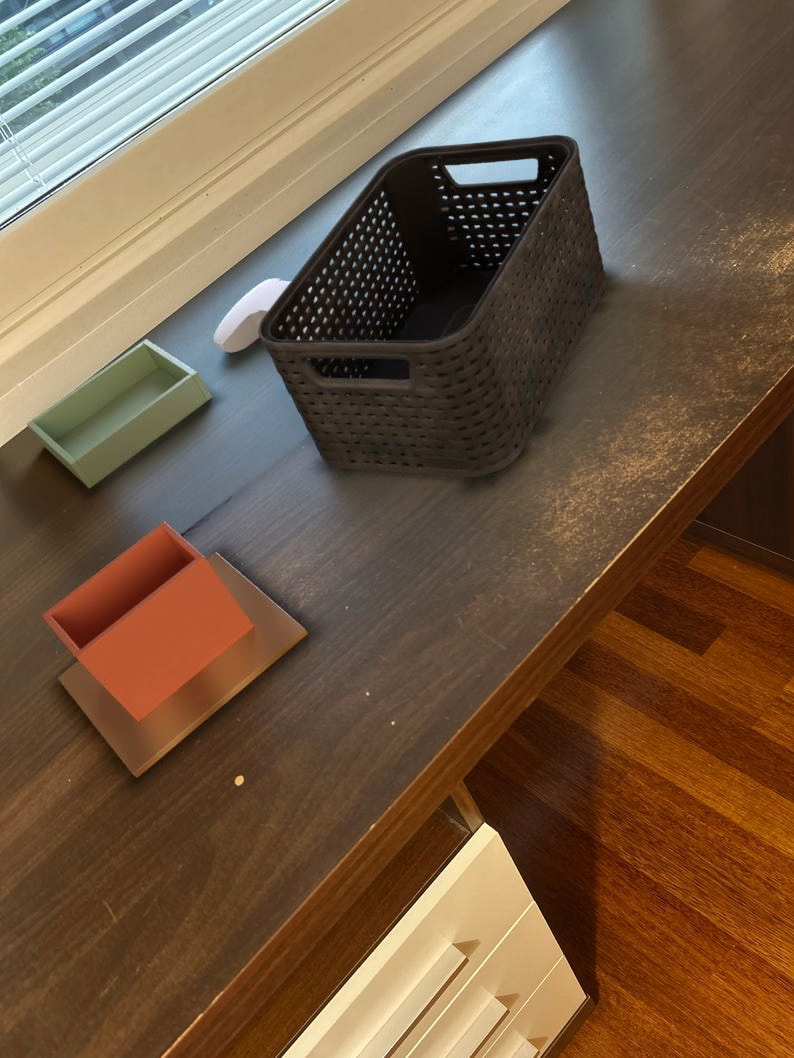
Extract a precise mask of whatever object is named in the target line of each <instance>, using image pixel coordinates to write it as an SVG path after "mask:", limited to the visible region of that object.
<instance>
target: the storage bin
mask: <svg viewBox="0 0 794 1058" xmlns="http://www.w3.org/2000/svg"><path fill="white" fill-rule="evenodd" d="M531 159H533V160H536V161H537V171H536V177H535V178H531V179H521V180H520V179H517V180H505V181H492V182H478V183H475V182H474V183H462V184H461V183H458V182H457V181H456V180H455V179H454V178H453V176H452V175H451V173H450V172H449V170H448V169H447V166H461V165H476V164H489V163H492V164H493V163H498V162H501V163H502V162H510V161H511V162H512V161H521V160H522V161H523V160H531ZM520 192H521V193H520ZM492 194H493V195H492ZM494 194H495V195H494ZM479 195H481V196H479ZM445 197H446V198H445ZM535 202H538V203H535ZM520 203H524V204H520ZM495 204H496V206H495ZM510 204H511V205H510ZM483 205H484V206H483ZM485 205H486V206H485ZM471 206H472V207H471ZM524 213H525V214H524ZM500 215H501V216H500ZM473 216H475V217H473ZM450 217H452V218H450ZM363 219H364V220H363ZM383 222H384V224H383ZM465 226H466V227H465ZM476 226H477V227H476ZM478 226H479V227H478ZM368 228H369V229H368ZM378 230H379V231H378ZM351 235H352V236H351ZM350 236H351V237H350ZM598 237H599V236H598V234H597V232H596V226H595V219H594V215H593V212H592V211H591V203H590V196H589V191H588V189H587V187H586V180H585V174H584V169H583V166H582V164H581V157H580V148H579V143H578V142H577V141H576V140H575V139H574V138H572V137H570V136H568V135H561V134H551V135H541V136H540V135H539V136H532V137H523V138H513V139H512V138H511V139H502V140H491V141H481V142H469V143H459V144H444V145H432V146H431V145H430V146H422V147H417V148H412V149H409V150H407V151H404V152H402V153H399V154H397V155H396V156H394V157H392V158H390V159H388V160H387V161H386V162H385V163H384V164H382V165H381V166H380V167H379V168H378V169H377V171H376V172H375V173H374V174H373V176H372V177H371V178H370V179H369V181H368V182H367V183H366V185H365V186H364V187H363V188H362V190H361V191H360V192H359V194H357V196H356V198H355V199H354V200H353V201H352V203H351V204H350V205H349V206H348V208H346V210H345V211H344V213H343V214H342V216H341V217H340V218H339V219H338V221H337V222H336V223H335V224H334V226H333V227H332V228H331V230H330V231H329V232H328V234H327V235H326V236H325V238H323V240H322V241H321V243H320V244H319V245H318V246H317V248H316V249H315V250H314V252H313V253H312V254H311V255H310V256H309V258H308V259H307V261H306V262H305V263H304V265H303V266H301V268H300V269H299V270H298V272H297V273H296V275H295V276H294V277H293V278H292V280H291V281H289V282H290V284H289V285H288V286H287V287H286V289H285V290H284V291H283V293H282V294H281V295H280V296H279V298H278V299H277V300H276V302H275V303H274V304H273V306H272V307H271V308H270V309H269V311H268V312H267V313H266V315H265V316H264V317H263V319H262V320H261V322H260V324H259V328H258V334H259V338H260V340H261V342H262V344H263V345H264V347H265V350H266V352H267V353H268V354H269V355H270V357H271V360H272V362H273V365H274V367H275V370H276V371H277V374H279V375H280V378H281V379H282V382H283V384H284V387H285V389H286V391H287V393H288V395H290V396H291V399H292V402H293V403H294V406H295V409H296V410H297V412H298V413H299V415H300V417H301V418H302V421H303V423H304V426H305V428H306V430H307V431H308V433H309V434H310V436H311V438H312V440H313V443H314V445H315V447H316V449H317V451H318V452H319V455H320V457H321V459H322V460H323V462H325V463H326V464H327V465H329V466H331V467H334V468H341V469H353V470H354V469H356V470H366V471H367V470H369V471H380V472H381V471H383V472H397V473H410V474H425V475H438V476H454V477H465V478H466V477H472V478H473V477H482V476H487V475H489V474H493V473H495V472H497V471H500V470H502V469H504V468H506V466H508V465H509V464H511V463H513V461H514V460H515V459H517V457H519V455H520V454H521V452H522V451H523V449H524V448H525V445H526V442H527V441H528V439H529V437H530V435H531V433H532V431H533V429H534V427H535V426H536V424H537V422H538V419H539V418H540V416H541V414H542V411H544V408H545V406H546V404H547V403H548V400H549V398H550V396H551V394H552V392H553V391H554V388H555V387H556V384H557V382H558V381H559V379H560V377H561V375H562V373H563V371H564V369H565V367H566V365H567V363H568V361H569V360H570V357H571V355H572V353H573V351H574V349H575V348H576V345H577V343H578V342H579V340H580V337H581V336H582V334H583V332H584V330H585V328H586V326H587V324H588V322H589V320H590V318H591V316H592V314H593V312H594V310H595V309H596V306H597V305H598V302H599V300H600V298H601V296H602V294H603V292H604V290H605V289H606V287H607V282H608V281H607V275H606V272H605V269H604V263H603V258H602V254H601V251H600V245H599V238H598ZM371 239H372V240H371ZM381 241H382V242H381ZM345 243H346V244H345ZM496 245H497V246H496ZM366 247H367V248H366ZM337 253H338V255H337ZM349 254H350V255H349ZM359 257H360V258H359ZM331 262H332V263H331ZM343 262H344V264H343ZM354 264H355V265H354ZM324 270H325V271H324ZM347 273H348V274H347ZM357 275H358V276H357ZM318 279H319V280H318ZM329 281H330V282H329ZM341 282H342V283H341ZM328 283H329V284H328ZM352 283H353V284H352ZM310 287H312V289H311V291H310V293H309V291H308V290H309V288H310ZM323 288H324V291H323V293H321V290H322V289H323ZM334 289H336V290H335V293H334V295H333V293H332V292H333V291H334ZM344 293H346V295H345V296H344ZM303 296H304V297H305V300H303V301H302V302H301V300H302V298H303ZM315 297H317V301H316V302H314V299H315ZM327 298H329V302H327V303H326V300H327ZM339 299H340V303H339V304H337V303H338V301H339ZM349 302H350V305H349ZM296 306H297V309H296V311H295V312H294V308H295V307H296ZM308 307H310V308H309V311H308V312H306V309H307V308H308ZM320 308H322V309H321V312H320V313H318V310H319V309H320ZM332 308H333V312H332V314H331V313H330V311H331V309H332ZM343 310H344V313H343V315H342V313H341V312H342V311H343ZM288 316H290V319H289V320H288V321H286V320H287V317H288ZM301 316H302V318H303V319H302V320H301V321H300V317H301ZM313 317H314V318H315V320H314V321H313V322H312V323H311V321H312V318H313ZM325 317H326V319H327V321H325V322H324V319H325ZM337 318H338V321H337V322H336V323H335V321H336V319H337ZM347 319H349V320H348V323H347V324H346V322H347ZM299 321H300V322H299ZM323 322H324V323H323ZM281 325H282V328H281V330H280V329H279V328H280V326H281ZM293 326H294V327H295V328H294V330H293V332H291V329H292V327H293ZM306 326H307V329H306V331H305V333H304V331H303V330H304V328H305V327H306ZM318 327H319V330H318V332H317V333H316V329H317V328H318ZM330 328H331V330H330V332H329V334H328V330H329V329H330ZM341 328H342V331H341V333H340V334H339V331H340V330H341ZM298 336H299V337H300V339H299V340H297V338H298ZM310 337H312V340H309V339H310ZM322 337H324V340H322ZM334 337H335V338H336V340H333V339H334ZM286 338H287V339H286ZM307 358H309V360H308V359H307ZM319 358H322V359H321V360H319ZM318 360H319V361H318Z"/></svg>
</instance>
